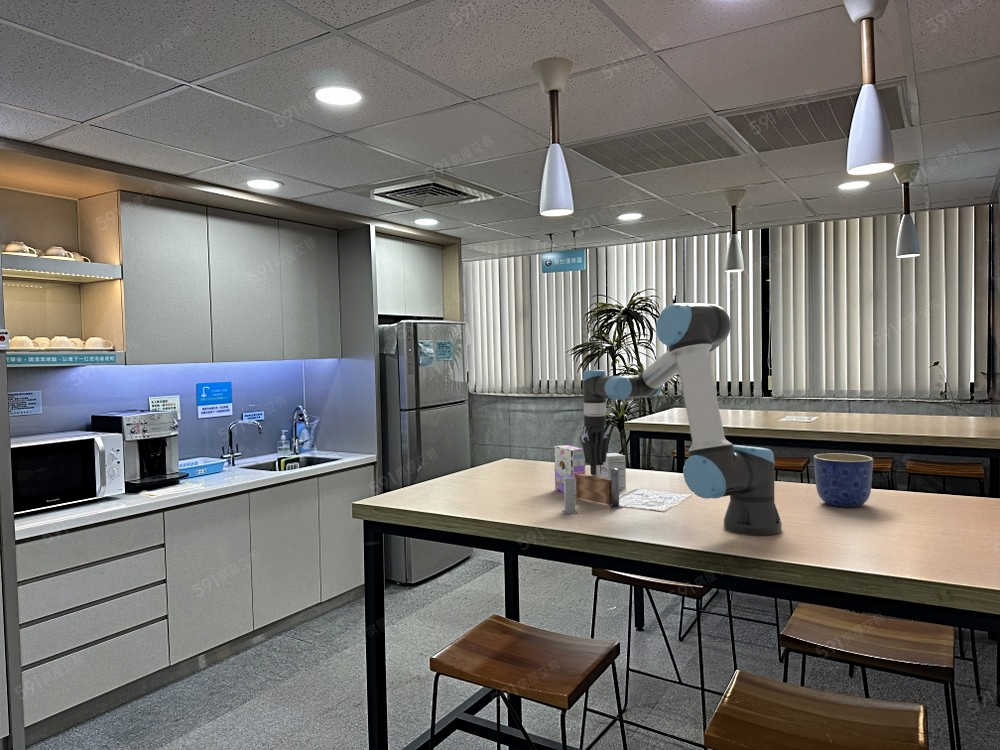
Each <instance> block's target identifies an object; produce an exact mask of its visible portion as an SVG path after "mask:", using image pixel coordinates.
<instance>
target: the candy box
mask: <svg viewBox="0 0 1000 750" xmlns="http://www.w3.org/2000/svg"><path fill="white" fill-rule="evenodd" d="M553 449H554V450H553V451H554V455H553V457H554V484H555V487H554V489H556V490H555V491H557V490H558V492H560V493H563V494H564V480H563V477H574V478H575V474H584V475H586V462H585V457H584V451H583V447H576V446H573V445H568V444H565V445H564V444H563V445H554V446H553ZM575 497H576V481H575Z"/></svg>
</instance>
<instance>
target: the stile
mask: <svg viewBox="0 0 1000 750" xmlns="http://www.w3.org/2000/svg"><path fill="white" fill-rule="evenodd" d="M563 480H564V493H563V507H564V508H563V509H561V512H562V513H563V514H565V515H570V514H571V515H572V514H579V511H578V510H577V508H576V496H575V481H576V478H574V477H563Z"/></svg>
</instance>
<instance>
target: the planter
mask: <svg viewBox="0 0 1000 750" xmlns="http://www.w3.org/2000/svg"><path fill="white" fill-rule="evenodd" d="M813 465H814V477H815V488H816V491H817V492H816V493H817V494H818V497H819V498H820V499H821V501H823V502H824V503H826V504H827V505H830V506H833V505H834V506H833V507H838V506H841V507H840V508H857V507H860V506H863V505H864V504H866V502H868V500H869V498H870V496H871V492H872V480H873V471H874V470H873V468H874V457H871V456H868V455H863V454H855V453H839V452H838V453H835V452H832V453H820V454H819V453H818V454H815V455H813ZM856 506H857V507H856Z"/></svg>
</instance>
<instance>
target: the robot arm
mask: <svg viewBox="0 0 1000 750" xmlns="http://www.w3.org/2000/svg"><path fill="white" fill-rule="evenodd" d="M731 325H732V324H731V319H730V315H729V313H728V312H727V311H726V310H725V309H724V308H723V307H721V306H719V305H717V304H714V303H695V302H694V303H692V302H691V303H689V302H687V303H686V302H680V303H671V304H668V305H667V306H666V307H664V308H663V310H662V311H661V312H660V314H659V316H658V318H657V321H656V336H657V339H658V340H659V342H661V343H662V344H663V345H664V346H668V350H667V351H665V352H664V353H663V354H662V355H661V356H660V357H659V358H657V359H656V360H655V361H654V362H652V363H651V364H650V365H649V366H648V367H646V368H645V369H644V370H642V372H640V373H638V374H635V375H633V374H630V375H606V371H605V370H604V369H586V370H584V371H583V374H582V375H583V379H582V388H583V392H582V393H583V414H584V416H583V426H584V427H585V430H584V435H583V436H579V441H580V443H581V445H582V449H583V451H584V457H585V465H586V464H587V465H588V466H590V467H589V468H590V476H595V477H600V474H601V465H603V464H604V463H603V462H605V461H606V455H607V453H608V446H609V441H610V439H611V434H610V433H607V432H606V428H605V427H606V426H607V416H606V414H607V400H608V399H611V400H615V401H617V400H618V401H619V400H625V399H632V398H633V399H634V398H652V397H656V396H658V395H660V394H661V391H662V389H663V385H665V384H666V383H667V382H668V381H670V380H671V379H672V378H673V377H675V376H676V375H677V374H679V380H680V384H681V389H682V394H683V399H684V400H683V401H684V405H685V409H686V414H687V415H686V416H687V420H688V426H689V430H690V437H691V440H692V444H691V446H690V447H689V449H688V458H686V460H685V462H684V466H682V467H683V469H682V473H683V479H684V481H685V484H686V485H687V487H688V489H689V490H690V491H691V492H692V493H694V495H696V496H697V497H699V498H701V499H708V500H709V499H720V498H724V497H728V496H729V502H728V505H727V509H726V512H725V514H724V515H725V516H723V517H724V518H723V528H724V529H725V530H726V531H729V532H730V533H731V532H732V533H735V534H741V535H747V536H748V535H749V536H773V535H777V534H780V533H781V532H782V526H783V525H782V523H783V522H782V520H781V518H780V515H779V512H778V509H777V506H776V504H775V465H776V463H775V455H774V452H773V451H772V449H770V448H765V447H760V446H759V447H758V446H751V445H749V446H747V445H738V444H733V443H732V442H730V441H729V440H727V438H726V437H725V431H724V427H723V423H722V418H721V417H722V416H721V412H720V406H719V400H718V396H717V391H716V386H715V383H714V382H715V381H714V377H713V371H712V367H711V363H710V358H709V353H711V352H713V351H714V350H716V349H717V348H718V347H719V346H720V345H721V346H722V344H723V343H724V342H725V341H726V340H727V338H728V336H729V335H730V332H731V329H732V328H731ZM606 399H607V400H606ZM602 458H603V459H602Z"/></svg>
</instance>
